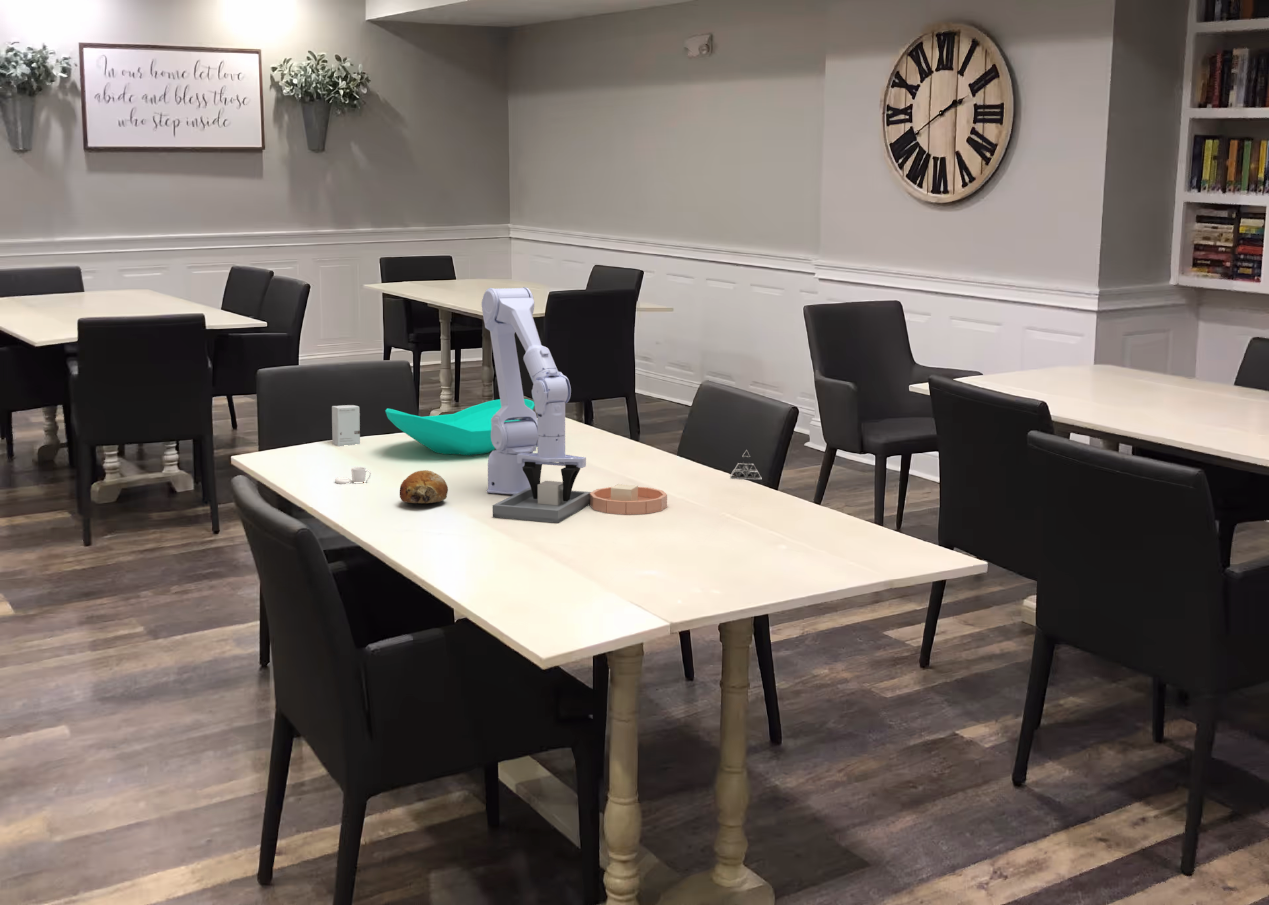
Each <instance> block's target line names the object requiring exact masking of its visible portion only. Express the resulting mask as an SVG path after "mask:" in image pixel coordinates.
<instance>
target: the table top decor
mask: <svg viewBox="0 0 1269 905" xmlns="http://www.w3.org/2000/svg"><path fill="white" fill-rule="evenodd" d="M524 403H525V405H526V406H527V407H529V408H530V409H531V410H533V411H534V410H535V403H534V400H531V399H527V398H524ZM500 408H501V401H500V398H499V399H494V400H488V401H485V402H482V403H479V404H478V403H477V404H476V405H472V406H469V407H466V408H464V409H462V410H459V411H457V412H454V413H450V414H448V413H447V414H439V415H438V414H437V415H429V416H427V415H426V416H419V415H415V414H410V413H407V412H403V411H399V410H396V409H393V408H386V409H385V410H384V411H385V414H386V417H387V419H388V420H389V421H390V422H391V423H392V424H393V425H394V426H395V427H396V428H398V429H399V430H400V431H401V432H403V433H404V434H406V435H407V436H409V437H410V438H412V439H413V440H415V441H417V442H418V443H420V444H421V445H423V446H424V447H425V448H427V449H429V450H431V451H432V452H434V453H437V454H441V453H443V454H442V455H460V454H461V455H462V456H467V455H468V456H475V455H476V456H477V455H483V454H488V453H489V454H490V453H491V452H492V451H494V450H496V448H495V447H494V446H493V444H492V441H491V419H492V417H493V416H494V415H495V414H496V413H497V412H498V411H499V410H500ZM510 421H522V420H510ZM510 421H504V422H510Z"/></svg>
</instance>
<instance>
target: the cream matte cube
mask: <svg viewBox="0 0 1269 905" xmlns="http://www.w3.org/2000/svg"><path fill="white" fill-rule="evenodd" d="M611 487H612V488H611V500H617V501H638V487H639V485H636V484H623V483H622V484H619V483H618V484H616V485H614V486H611Z"/></svg>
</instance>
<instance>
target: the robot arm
mask: <svg viewBox="0 0 1269 905" xmlns="http://www.w3.org/2000/svg"><path fill="white" fill-rule="evenodd" d="M481 299H482V300H481V311H482V317H483V318H482V319H483V323H484V328H485V329H486V330H488V331H489V332H490V340H491V346H492V353H493V354H492V355H493V360H494V365H495V374H496V381H497V387H498V395H499V399H500V401H501V408H500V410H499V411H498V412H497V413H496V414H495V415H494V416H493V417H492V419H491V441H492V444H493V446H494V447H495V449H494V450H492V451H490V452H489V455H488V460H487V490H486V492H487V493H492V494H500V495H501V494H502V495H515V494H517V493H519V492H521V491H523V490H525V489H527V488H529V487H531V490H532V494H533V499H538V484H540V483H541V477H542V468H543V466H544V465H545V466H561V467H562V468H561V469H560V473H561V479H562V482H563V501H568V500H570V495H571V491H573V490H572V489H573V487H574V484H575V481H576V479H577V477H578V474H580V473H579V472H580V470H581V469H583V468H585V467H587V457H585V456H576V455H570V454H566V404H567V403H568V402H570V399H571V395H572V394H571V393H572V388H571V384H570V380H569V378H568V377H567V375H564V374H563V373H562V371H559V370H558V368H557V366H556V363H555V360H554V358H553V356H552V353H551V351H550V349H549V348H548V347H546V346H544V345H542V342H541V338H540V336H539V332H538V329H537V326H536V323H535V320H534V316H533V315H534V311H535V300H534V295H533V293H532V291H531V289H530V288H528V287H525V286H523V287H516V288H515V287H514V288H512V287H508V288H507V287H506V288H504V287H503V288H502V287H501V288H493V287H489V288H487V289H486V290H485V292H484V293H483V296H482V298H481ZM515 334H516V336H517V338H518V339H519V341H520V343H521V345H522V347H523V349H524V351H525V354H524V355H523V357H522V358H523V359H522V360H523V362H524V364H525V367H526V369H527V372H528V373H529V374H528V375H529V377H530V379H531V382H532V384H533V385H532V389H531V396H532V401H533V402H534V404H535V406H534V409H533V410H531V409H530V408H529V407H527V406H526V405H525V403H524V399H525V398H524V390H523V385H522V384H523V382H522V378H521V372H520V364H519V357H518V352H517V351H518V350H517V344H516V338H515ZM534 410H535V411H534ZM510 420H522V421H510ZM504 421H510V422H504ZM536 451H537V452H536ZM535 452H536V453H535Z"/></svg>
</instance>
